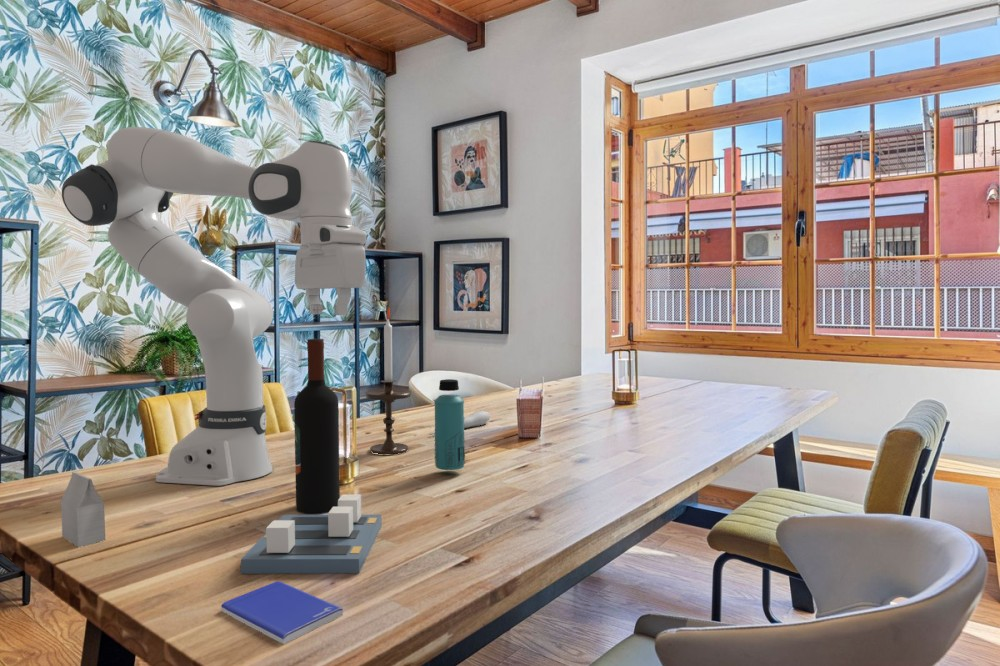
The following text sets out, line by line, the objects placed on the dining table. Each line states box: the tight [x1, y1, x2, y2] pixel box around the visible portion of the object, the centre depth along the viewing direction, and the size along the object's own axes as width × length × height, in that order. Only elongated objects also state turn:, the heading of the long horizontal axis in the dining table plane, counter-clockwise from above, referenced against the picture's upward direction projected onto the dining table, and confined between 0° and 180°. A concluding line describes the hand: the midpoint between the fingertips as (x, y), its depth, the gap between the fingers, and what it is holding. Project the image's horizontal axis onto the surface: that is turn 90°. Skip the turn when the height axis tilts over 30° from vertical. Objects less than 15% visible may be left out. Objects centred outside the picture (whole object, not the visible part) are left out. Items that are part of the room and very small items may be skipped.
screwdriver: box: [429, 410, 491, 436], centre depth 184 cm, size 5×25×4 cm, turn 142°
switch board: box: [240, 514, 383, 575], centre depth 98 cm, size 16×18×2 cm
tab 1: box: [265, 519, 295, 553], centre depth 92 cm, size 3×3×4 cm
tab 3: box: [327, 507, 353, 537], centre depth 98 cm, size 3×3×4 cm
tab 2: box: [338, 493, 362, 522], centre depth 104 cm, size 3×3×4 cm
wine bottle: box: [293, 338, 341, 515], centre depth 116 cm, size 8×8×30 cm
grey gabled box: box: [60, 471, 106, 548], centre depth 101 cm, size 4×7×10 cm, turn 51°
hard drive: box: [220, 581, 344, 645], centre depth 78 cm, size 2×8×12 cm
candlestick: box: [365, 306, 412, 455], centre depth 158 cm, size 11×11×35 cm
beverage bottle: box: [433, 378, 466, 471], centre depth 139 cm, size 6×7×20 cm
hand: (328, 314), depth 116 cm, fingers open, 8 cm apart
